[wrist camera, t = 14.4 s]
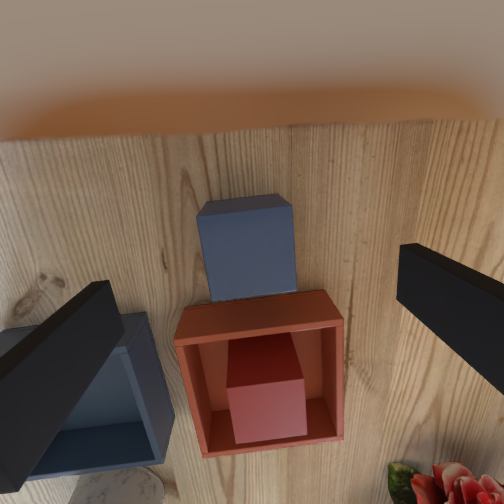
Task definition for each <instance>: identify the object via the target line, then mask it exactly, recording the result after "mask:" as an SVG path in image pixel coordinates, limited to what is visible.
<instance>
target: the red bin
mask: <svg viewBox="0 0 504 504" xmlns="http://www.w3.org/2000/svg"><path fill="white" fill-rule="evenodd" d="M343 325H344V318H343V317H342V315H341V314H340V312H339V311H338V309H337V308H336V306H335V305H334V303H333V302H332V300H331V299H330V297H329V296H328V294H327V293H326V291H325V290H319V291H311V292H303V293H295V294H287V295H279V296H271V297H263V298H255V299H247V300H239V301H231V302H223V303H215V304H206V305H198V306H190V307H185V308H184V311H183V314H182V316H181V319H180V322H179V325H178V328H177V330H176V333H175V336H174V339H173V342H174V346H175V350H176V354H177V358H178V362H179V366H180V370H181V374H182V378H183V382H184V386H185V390H186V394H187V398H188V402H189V406H190V410H191V414H192V418H193V422H194V426H195V430H196V434H197V438H198V442H199V446H200V450H201V453H202V458H210V457H218V456H226V455H233V454H241V453H249V452H256V451H264V450H272V449H279V448H287V447H295V446H302V445H310V444H318V443H325V442H333V441H341V440H344V326H343ZM286 332H290V333H291V336H292V340H293V343H294V346H295V350H296V353H297V356H298V360H299V363H300V366H301V369H302V373H303V376H304V383H305V400H306V418H307V435H301V436H294V437H286V438H278V439H270V440H262V441H254V442H247V443H239V444H236V440H235V435H234V429H233V424H232V418H231V413H230V407H229V402H228V396H227V391H226V380H227V360H228V340H230V339H238V338H246V337H254V336H262V335H270V334H278V333H286Z"/></svg>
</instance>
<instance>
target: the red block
mask: <svg viewBox="0 0 504 504" xmlns="http://www.w3.org/2000/svg"><path fill="white" fill-rule="evenodd" d="M226 391H227V396H228V402H229V407H230V413H231V418H232V424H233V429H234V435H235V440H236V444H239V443H247V442H254V441H262V440H270V439H278V438H286V437H294V436H301V435H307V418H306V400H305V383H304V376H303V373H302V369H301V366H300V363H299V360H298V356H297V353H296V350H295V346H294V343H293V340H292V336H291V333H290V332H286V333H278V334H270V335H262V336H254V337H246V338H238V339H230V340H228V360H227V380H226Z"/></svg>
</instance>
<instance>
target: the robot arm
mask: <svg viewBox="0 0 504 504" xmlns="http://www.w3.org/2000/svg"><path fill="white" fill-rule="evenodd" d="M396 299H397V300H398V301H399V302H400V303H401V304H402V305H403V306H404V307H406V308H407V309H408V310H409V311H410V312H411V313H412V314H413V315H414V316H416V317H417V318H418V319H419V320H420V321H421V322H422V323H423V324H425V325H426V326H427V327H428V328H429V329H430V330H431V331H432V332H434V333H435V334H436V335H437V336H438V337H439V338H440V339H441V340H442V341H444V342H445V343H446V344H447V345H448V346H449V347H450V348H451V349H453V350H454V351H455V352H456V353H457V354H458V355H459V356H460V357H462V358H463V359H464V360H465V361H466V362H467V363H468V364H469V365H470V366H472V367H473V368H474V369H475V370H476V371H477V372H478V373H479V374H481V375H482V376H483V377H484V378H485V379H486V380H487V381H488V382H490V383H491V384H492V385H493V386H494V387H495V388H496V389H497V390H498V391H500V392H501V393H502V394H503V395H504V284H503V283H501V282H499V281H497V280H495V279H493V278H491V277H488V276H486V275H484V274H482V273H480V272H478V271H476V270H473V269H471V268H469V267H467V266H465V265H463V264H461V263H459V262H456V261H454V260H452V259H450V258H448V257H446V256H444V255H442V254H439V253H437V252H435V251H433V250H431V249H429V248H427V247H424V246H422V245H420V244H418V243H412V244H404V245H400V252H399V267H398V282H397V296H396ZM124 333H125V330H124V326H123V323H122V320H121V317H120V313H119V310H118V307H117V304H116V301H115V297H114V294H113V291H112V288H111V285H110V281H109V280H104V281H96V282H91V283H90V284H89V285H88V286H87V287H85V288H84V289H83V290H82V291H80V292H79V293H78V294H77V295H76V296H74V297H73V298H72V299H71V300H69V301H68V302H67V303H66V304H65V305H63V306H62V307H61V308H60V309H59V310H57V311H56V312H55V313H54V314H52V315H51V316H50V317H49V318H48V319H46V320H45V321H44V322H43V323H42V324H40V325H39V326H38V327H37V328H35V329H34V330H33V331H32V332H31V333H29V334H28V335H27V336H26V337H24V338H23V339H22V340H21V341H20V342H18V343H17V344H16V345H15V346H14V347H12V348H11V349H10V350H9V351H7V352H6V353H5V354H4V355H3V356H1V357H0V494H5V493H13V492H18V491H19V490H20V488H21V487H22V485H23V484H24V482H25V481H26V479H27V478H28V476H29V475H30V474H31V472H32V471H33V469H34V468H35V466H36V465H37V463H38V462H39V460H40V459H41V457H42V456H43V454H44V453H45V451H46V450H47V448H48V447H49V445H50V444H51V442H52V441H53V439H54V438H55V436H56V435H57V433H58V432H59V430H60V429H61V427H62V426H63V424H64V423H65V421H66V420H67V418H68V417H69V415H70V414H71V412H72V411H73V409H74V408H75V406H76V405H77V403H78V402H79V400H80V399H81V397H82V396H83V394H84V393H85V391H86V390H87V388H88V387H89V385H90V384H91V382H92V381H93V379H94V378H95V376H96V375H97V373H98V372H99V370H100V369H101V367H102V366H103V364H104V363H105V361H106V360H107V358H108V357H109V356H110V354H111V353H112V351H113V350H114V348H115V347H116V345H117V344H118V342H119V341H120V339H121V338H122V336H123V335H124Z"/></svg>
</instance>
